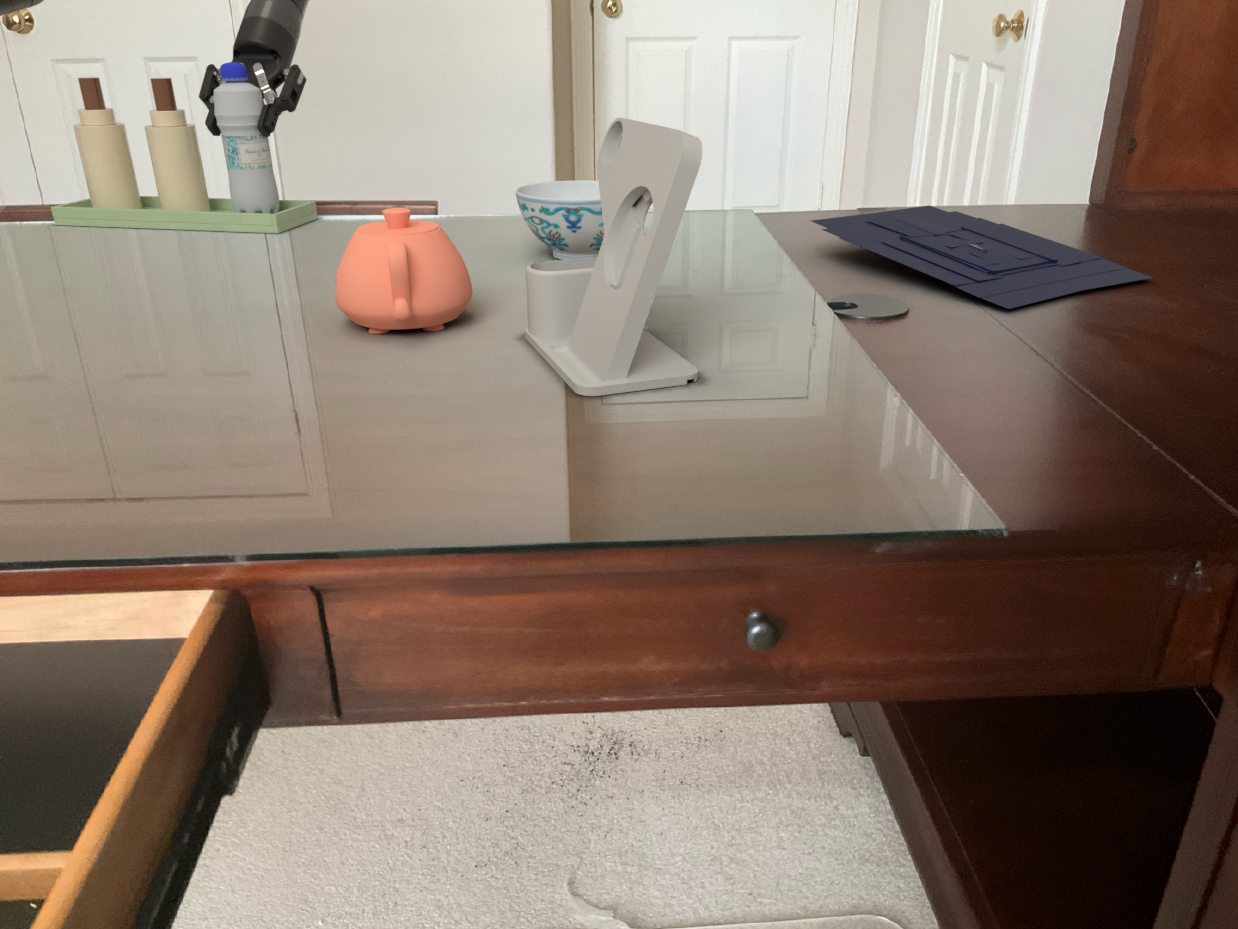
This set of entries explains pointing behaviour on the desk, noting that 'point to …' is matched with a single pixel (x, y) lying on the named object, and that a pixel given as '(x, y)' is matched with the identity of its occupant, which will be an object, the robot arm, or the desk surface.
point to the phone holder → (618, 269)
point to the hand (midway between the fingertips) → (237, 132)
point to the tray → (187, 216)
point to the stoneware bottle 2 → (175, 153)
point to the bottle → (245, 142)
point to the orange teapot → (401, 275)
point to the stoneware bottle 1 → (105, 152)
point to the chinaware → (564, 216)
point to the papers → (979, 254)
